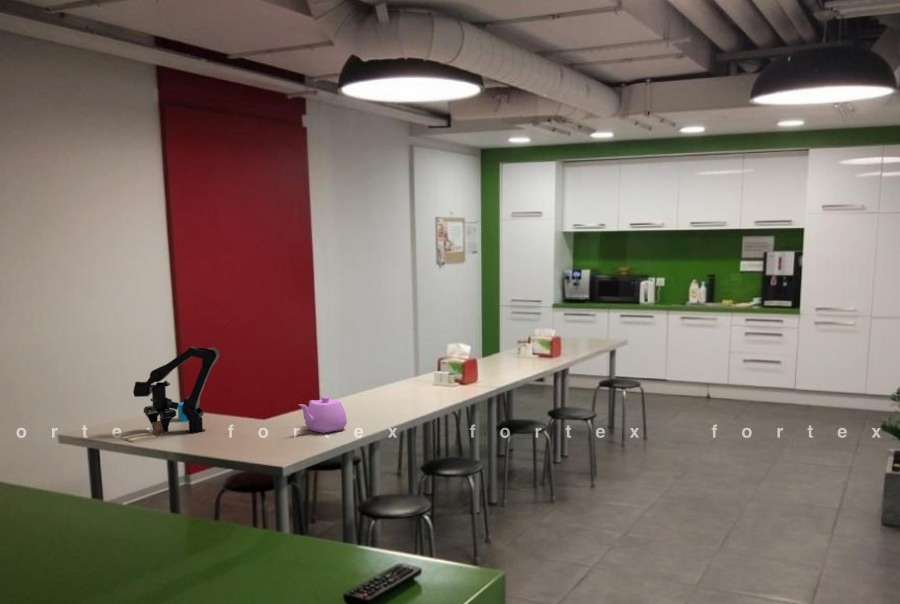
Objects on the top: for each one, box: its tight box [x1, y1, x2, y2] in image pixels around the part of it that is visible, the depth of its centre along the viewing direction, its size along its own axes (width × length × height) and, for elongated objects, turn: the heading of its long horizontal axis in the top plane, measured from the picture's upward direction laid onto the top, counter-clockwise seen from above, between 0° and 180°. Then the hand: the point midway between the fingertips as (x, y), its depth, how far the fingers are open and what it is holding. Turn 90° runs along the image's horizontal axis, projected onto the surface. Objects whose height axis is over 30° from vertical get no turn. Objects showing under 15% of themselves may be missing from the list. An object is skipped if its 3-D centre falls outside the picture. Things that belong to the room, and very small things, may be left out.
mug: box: [177, 401, 189, 423], centre depth 351 cm, size 12×8×8 cm
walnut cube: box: [151, 420, 169, 435], centre depth 324 cm, size 5×5×5 cm
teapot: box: [298, 395, 348, 434], centre depth 323 cm, size 23×21×15 cm
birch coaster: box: [121, 432, 156, 443], centre depth 314 cm, size 10×10×1 cm
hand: (160, 430), depth 324 cm, fingers open, 9 cm apart
